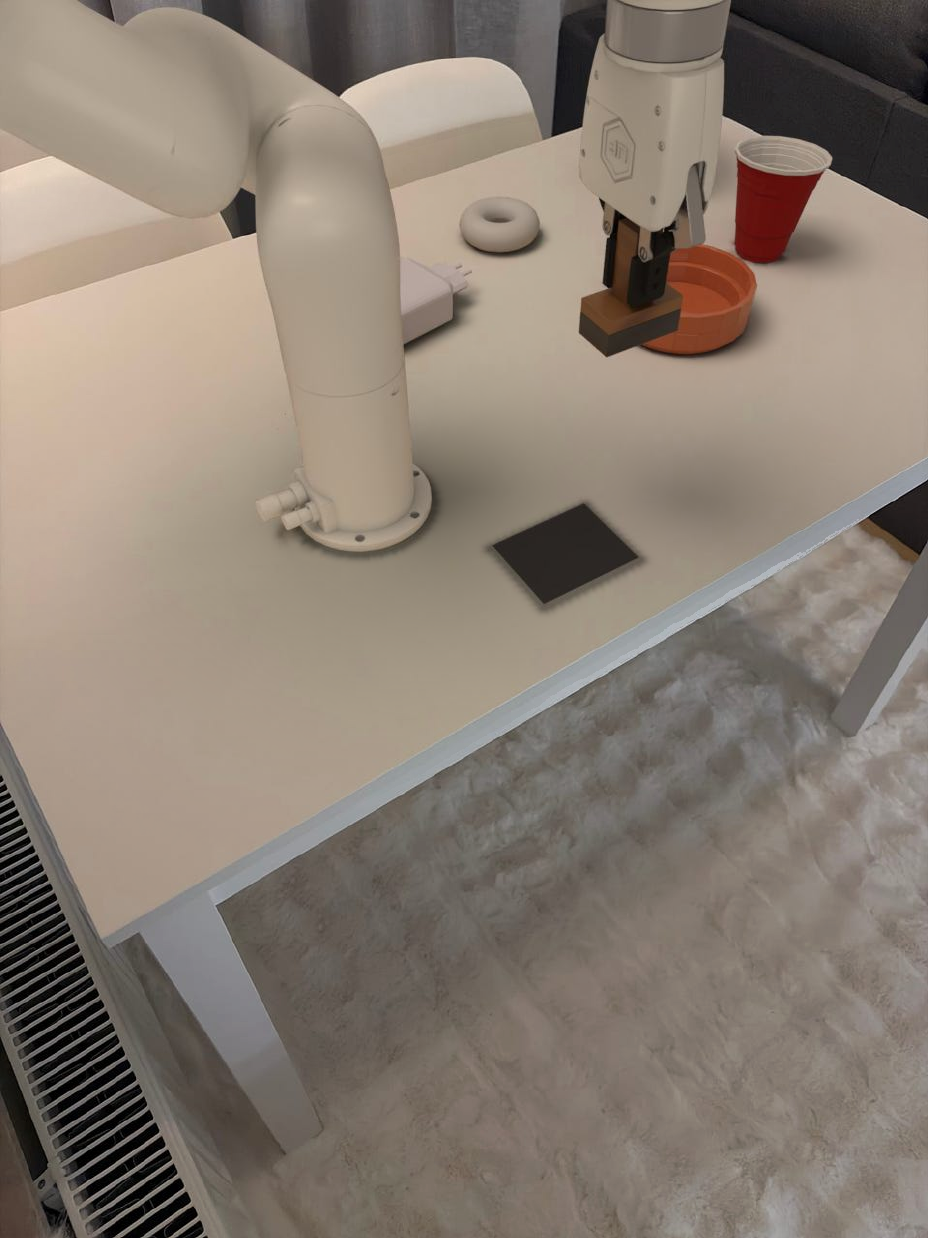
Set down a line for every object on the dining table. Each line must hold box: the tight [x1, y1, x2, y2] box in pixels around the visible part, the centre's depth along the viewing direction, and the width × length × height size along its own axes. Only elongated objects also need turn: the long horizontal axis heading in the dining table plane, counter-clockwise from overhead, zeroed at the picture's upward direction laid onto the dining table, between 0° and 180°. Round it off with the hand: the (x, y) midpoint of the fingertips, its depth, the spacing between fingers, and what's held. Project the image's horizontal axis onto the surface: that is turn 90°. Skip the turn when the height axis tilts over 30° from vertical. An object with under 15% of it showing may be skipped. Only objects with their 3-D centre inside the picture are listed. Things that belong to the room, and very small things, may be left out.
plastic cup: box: [733, 135, 833, 264], centre depth 108 cm, size 11×11×12 cm
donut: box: [459, 196, 541, 253], centre depth 114 cm, size 10×4×10 cm
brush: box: [578, 218, 683, 358], centre depth 71 cm, size 7×4×9 cm, turn 119°
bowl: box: [640, 243, 758, 355], centre depth 101 cm, size 15×15×5 cm
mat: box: [491, 503, 639, 605], centre depth 80 cm, size 10×8×1 cm
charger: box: [400, 256, 473, 346], centre depth 103 cm, size 5×9×15 cm
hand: (633, 289), depth 71 cm, fingers closed on brush, 2 cm apart
